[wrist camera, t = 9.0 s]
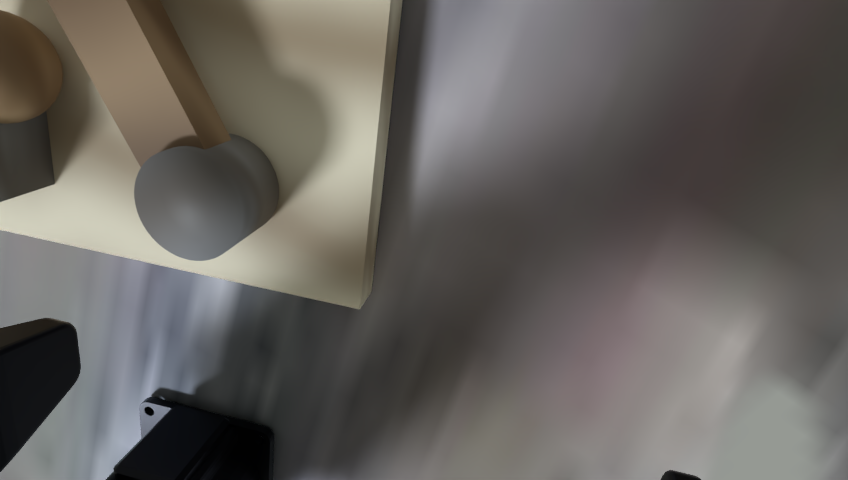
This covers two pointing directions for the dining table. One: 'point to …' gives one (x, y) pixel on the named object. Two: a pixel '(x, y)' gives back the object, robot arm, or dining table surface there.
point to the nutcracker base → (241, 115)
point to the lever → (170, 129)
